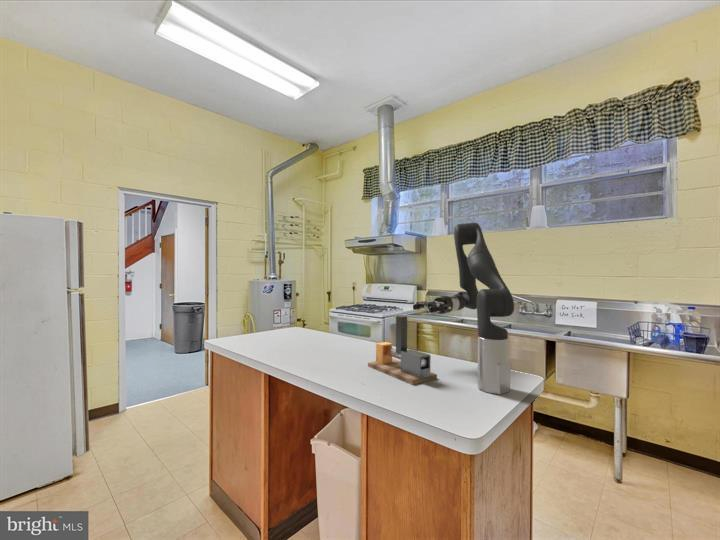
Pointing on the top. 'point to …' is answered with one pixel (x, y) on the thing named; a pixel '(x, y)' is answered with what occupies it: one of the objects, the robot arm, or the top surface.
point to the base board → (399, 372)
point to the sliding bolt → (402, 339)
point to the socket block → (383, 352)
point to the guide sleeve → (415, 363)
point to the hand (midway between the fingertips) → (421, 308)
